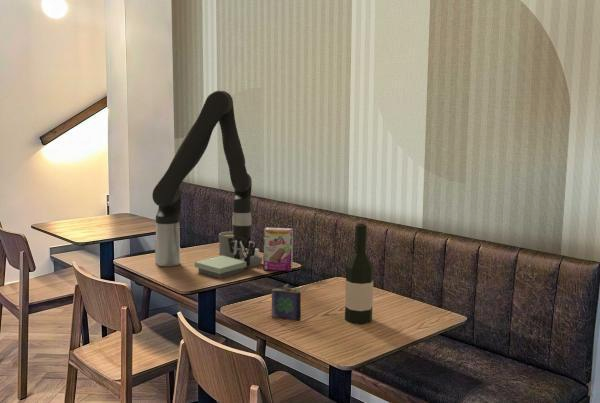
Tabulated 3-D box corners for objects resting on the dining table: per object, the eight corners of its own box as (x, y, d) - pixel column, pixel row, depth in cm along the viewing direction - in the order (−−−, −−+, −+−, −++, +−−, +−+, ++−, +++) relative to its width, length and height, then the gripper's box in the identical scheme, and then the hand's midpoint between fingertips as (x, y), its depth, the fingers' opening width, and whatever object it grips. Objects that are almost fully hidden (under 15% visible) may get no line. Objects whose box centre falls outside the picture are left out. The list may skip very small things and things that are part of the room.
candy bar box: (262, 270, 238) (263, 229, 235) (264, 267, 243) (265, 227, 240) (291, 271, 237) (291, 230, 234) (292, 268, 242) (293, 228, 239)
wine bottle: (361, 326, 180) (364, 226, 175) (339, 319, 185) (341, 222, 180) (377, 319, 186) (381, 222, 181) (355, 313, 191) (358, 219, 186)
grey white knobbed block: (233, 268, 242) (233, 253, 241) (254, 262, 251) (254, 247, 250) (240, 270, 239) (240, 254, 238) (261, 264, 248) (261, 249, 247)
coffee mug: (229, 261, 252) (229, 237, 250) (214, 256, 259) (214, 233, 257) (253, 255, 262) (253, 232, 260) (238, 251, 268) (238, 229, 267)
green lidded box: (194, 272, 235) (194, 261, 234) (221, 265, 245) (221, 255, 245) (219, 279, 226) (219, 268, 225) (246, 271, 237) (246, 261, 236)
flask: (270, 318, 186) (270, 284, 184) (273, 315, 189) (274, 281, 187) (299, 321, 183) (299, 287, 181) (302, 318, 186) (302, 284, 184)
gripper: (222, 222, 242) (222, 263, 245) (248, 227, 233) (248, 270, 235) (236, 219, 248) (236, 260, 250) (261, 224, 238) (261, 266, 241)
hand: (242, 264), depth 243 cm, fingers open, 5 cm apart
